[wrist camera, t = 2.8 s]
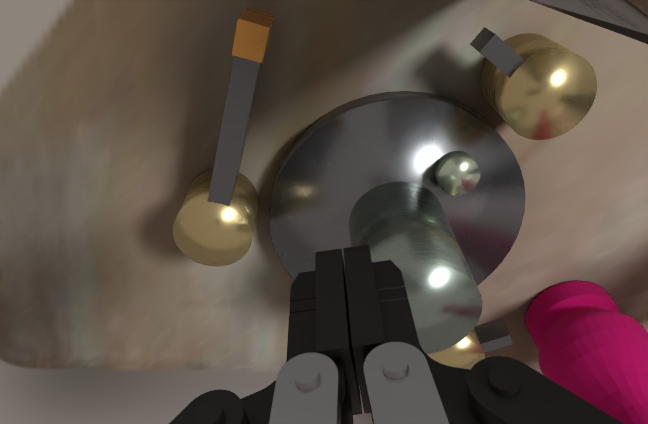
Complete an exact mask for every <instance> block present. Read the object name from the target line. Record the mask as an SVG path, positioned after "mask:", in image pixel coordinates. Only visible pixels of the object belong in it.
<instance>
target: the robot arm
mask: <svg viewBox="0 0 648 424" xmlns="http://www.w3.org/2000/svg"><path fill="white" fill-rule="evenodd" d="M343 252H344V260H343V255H342V250H341V249H334V250H327V251H320V252H316V253H315V271H309V272H301V273H299V274H298V276H297V277H296V279H295V281H294V282H293V284H292V286H291V295H290V312H289V313H290V315H289V329H288V346H287V360H286V363H285V364H284V365H283V366H282V368H281V369H280V371H279V373H278V375H277V379H276V381H274V382H273V383H272V384H271V385H269V386H268V387H266V388H265V389H263V390H261V391H258V392H256V393H254V394H251V395H249V396H247V397H244V398H242V399H240V398H239V397H238V396H237V395H236V394H234V393H233V392H231V391H227V390H214V391H209V392H207V393H204V394H202V395H200V396H199V397H197V398H196V399H194V400H193V401H192V402H191V403H190V404H189V405H188V406H187V407H186V408H185V409H184V410H183V411H182V412H181V413H180V414H179V415H178V416H177V417H176V418H175V419H174V420H173V421H172V422H171V423H169V424H353V415H356V414H362V409H361V399H360V390H361V396H362V401H363V406H364V412H365V413H371V415H372V421H373V424H624V423H622V422H620V421H619V420H617V419H615V418H614V417H612V416H610V415H609V414H607V413H605V412H604V411H602V410H600V409H599V408H597V407H595V406H594V405H592V404H590V403H589V402H587V401H585V400H584V399H582V398H580V397H579V396H577V395H575V394H574V393H572V392H570V391H569V390H567V389H565V388H564V387H562V386H560V385H559V384H557V383H555V382H554V381H552V380H550V379H549V378H547V377H545V376H544V375H542V374H540V373H539V372H537V371H535V370H534V369H532V368H530V367H529V366H527V365H525V364H524V363H522V362H520V361H518V360H515V359H512V358H508V357H501V356H494V357H488V358H485V359H482V360H480V361H479V362H477V363H476V364H475V365H474V366H473V367H472V368H471V370H470V369H464V368H457V367H451V366H447V365H444V364H441V363H439V362H437V361H435V360H433V359H432V358H430V357H429V356H428V355H427V354H426V353H425V352H424V351H423V349H422V347H421V346H420V343H419V340H418V336H417V332H416V328H415V324H414V320H413V316H412V312H411V308H410V304H409V300H408V296H407V292H406V288H405V284H404V280H403V276H402V272H401V270H400V269H399V268H398V267H397V266H396V265H395V264H394V263H393V262H392V261H391V260H386V261H379V262H372V260H371V254H370V248H369V244H368V245H361V246H354V247H347V248H343ZM344 263H345V266H344ZM359 386H360V389H359Z"/></svg>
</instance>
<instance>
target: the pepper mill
mask: <svg viewBox="0 0 648 424" xmlns="http://www.w3.org/2000/svg"><path fill="white" fill-rule="evenodd" d="M526 326H527V328H528V330H529V332H530V334H531V336H532V338H533V340H534V342H535V343H536V345H537V346H538V347H539V348H540V350H539V365H540V368H541V371H542V373H543V375H544V376H545V377H547V378H549V379H550V380H552V381H554V382H555V383H557V384H559V385H560V386H562V387H564V388H565V389H567V390H569V391H570V392H572V393H574V394H575V395H577V396H579V397H580V398H582V399H584V400H585V401H587V402H589V403H590V404H592V405H594V406H595V407H597V408H599V409H600V410H602V411H604V412H605V413H607V414H609V415H610V416H612V417H614V418H615V419H617V420H619V421H620V422H622V423H624V424H648V333H647V331H646V330H645V329H644V327H643V326H642V325H641V324H640V323H639V322H638V321H637V320H635V319H633V318H632V317H630V316H628V315H625V314H622V313H620V311H619V308H618V307H617V305H616V304H615V302H614V301H613V300H612V298H611V297H610V296H609V294H608V293H607V292H606V291H605V290H604V289H603V288H602V287H601V286H599V285H597V284H595V283H591V282H587V281H570V282H564V283H560V284H558V285H555V286H553V287H550V288H549V289H547V290H545V291H544V292H542V293H541V294H540V295H539V296H537V297H536V298H535V299H534V300H533V302H532V303H531V305H530V306H529V308H528V310H527V313H526Z"/></svg>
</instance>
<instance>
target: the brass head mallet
mask: <svg viewBox="0 0 648 424" xmlns="http://www.w3.org/2000/svg"><path fill="white" fill-rule="evenodd" d="M273 19H274V15H272V14H268V13H265V12H261V11H258V10H255V9H251V8H248V7H246V8H245V9H244V11H243V12H242V14H241V15H240V16H239V18H238V21H237V27H236V32H235V38H234V43H233V49H232V55H234V58H233V63H232V69H231V74H230V80H229V85H228V91H227V96H226V102H225V107H224V113H223V118H222V124H221V129H220V135H219V140H218V146H217V151H216V157H215V163H214V168H213V169H212V170H208V171H206V172H203V173H202V174H200V175H199V176H198V177H196V178H195V180H194V181H193V182H192V184H191V186H190V188H189V190H188V193H187V195H186V197H185V199H184V201H183V204H182V206H181V208H180V210H179V212H178V215H177V217H176V219H175V221H174V224H173V237H174V240H175V243H176V245H177V246H178V248H179V249H180V250H181V252H182V253H183V254H185V255H186V256H187V257H188V258H190V259H192V260H193V261H195V262H198V263H200V264H204V265H208V266H225V265H229V264H232V263H234V262H236V261H238V260H240V259H241V258H242V257H243V256H244V255H245V254H246V253H247V251H248V250H249V248H250V245H251V240H252V235H253V230H254V224H255V219H256V214H257V209H258V195H257V191H256V189H255V187H254V186H253V184H252V183H251V182H250V181H249V180H248V179H247V178H246V177H244V176H243V175H241V174H240V173H239V169H240V164H241V159H242V155H243V150H244V145H245V140H246V136H247V131H248V126H249V122H250V117H251V112H252V108H253V103H254V98H255V94H256V89H257V84H258V80H259V75H260V70H261V65H262V62H263V59H264V56H265V53H266V50H267V47H268V43H269V38H270V33H271V29H272V24H273Z"/></svg>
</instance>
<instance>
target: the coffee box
mask: <svg viewBox="0 0 648 424" xmlns="http://www.w3.org/2000/svg"><path fill="white" fill-rule="evenodd" d="M530 1H532V2H535V3H538V4H541V5H543V6H546V7H549V8H552V9H554V10H557V11H559V12H562V13H565V14H567V15H570V16H573V17H575V18H578V19H581V20H584V21H586V22H589V23H592V24H595V25H598V26H600V27H603V28H606V29H609V30H611V31H614V32H617V33H620V34H622V35H625V36H628V37H630V38H633V39H636V40H638V41H641V42H644V43H646V44H648V0H530Z"/></svg>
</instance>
